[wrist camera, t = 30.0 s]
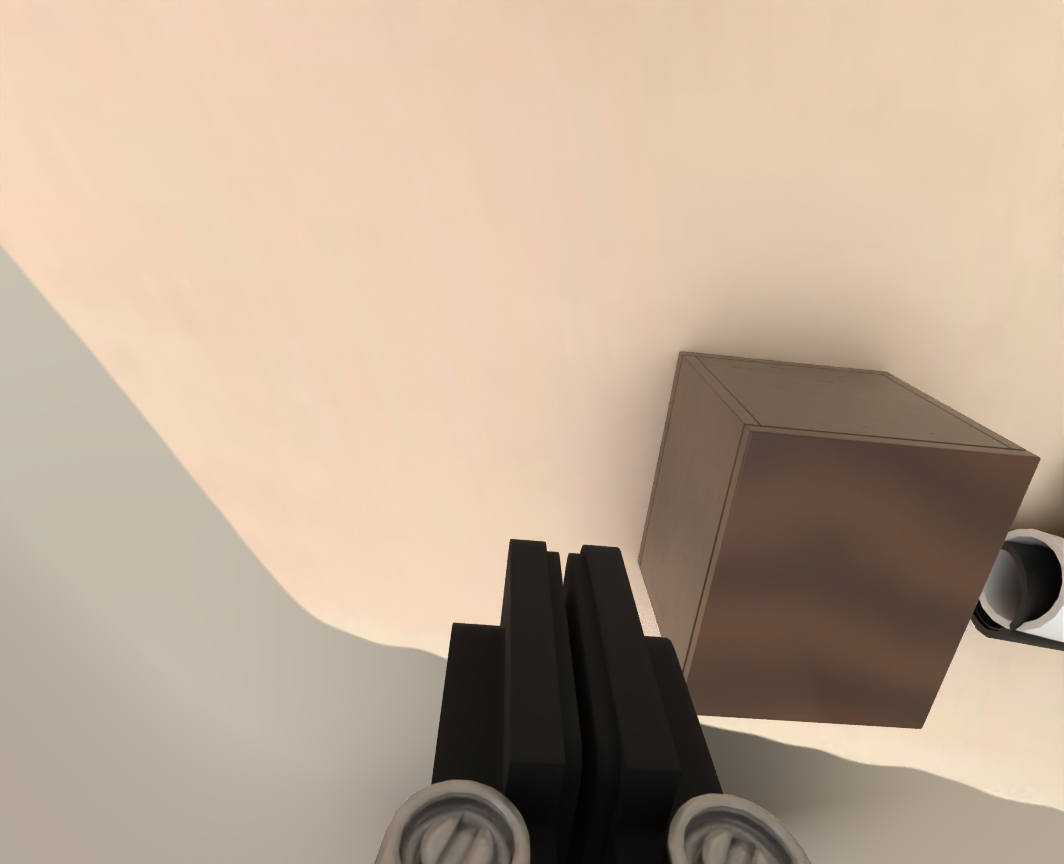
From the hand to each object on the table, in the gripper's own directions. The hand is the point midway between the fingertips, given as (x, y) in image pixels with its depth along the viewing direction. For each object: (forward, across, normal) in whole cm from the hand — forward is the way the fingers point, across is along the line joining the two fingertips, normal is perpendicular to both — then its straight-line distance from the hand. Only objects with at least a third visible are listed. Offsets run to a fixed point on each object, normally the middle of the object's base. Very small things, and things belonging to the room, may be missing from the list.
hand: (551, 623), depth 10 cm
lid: (+19, -17, +11) cm, 28 cm away
